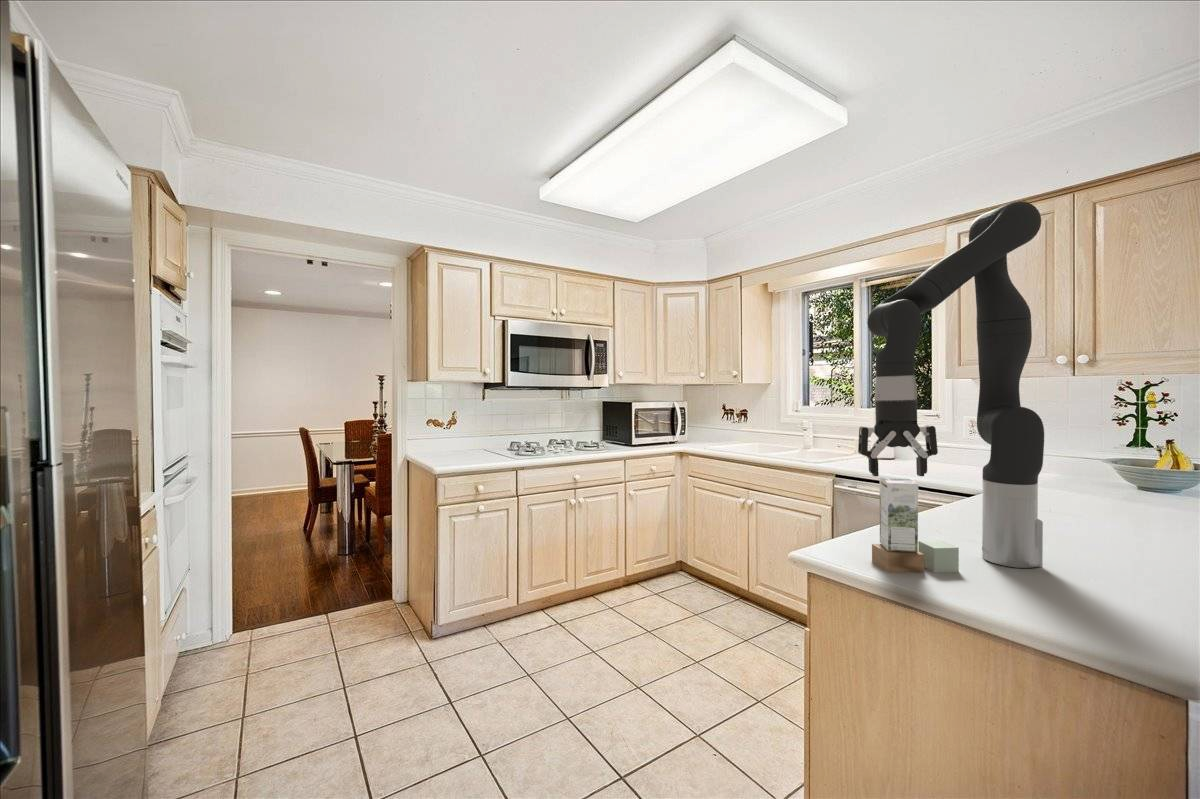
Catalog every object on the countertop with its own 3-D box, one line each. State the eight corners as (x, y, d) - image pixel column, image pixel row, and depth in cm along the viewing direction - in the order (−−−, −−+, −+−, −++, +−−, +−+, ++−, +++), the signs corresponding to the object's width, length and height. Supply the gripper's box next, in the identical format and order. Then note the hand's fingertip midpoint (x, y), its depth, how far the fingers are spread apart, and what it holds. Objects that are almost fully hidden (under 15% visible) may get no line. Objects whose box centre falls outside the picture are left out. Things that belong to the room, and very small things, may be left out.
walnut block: (905, 562, 111) (905, 543, 111) (924, 573, 104) (923, 554, 104) (872, 562, 111) (871, 543, 111) (888, 574, 104) (888, 554, 104)
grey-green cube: (941, 563, 109) (941, 540, 109) (958, 572, 104) (958, 547, 104) (918, 564, 109) (918, 540, 109) (934, 572, 104) (934, 548, 104)
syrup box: (908, 544, 110) (908, 477, 110) (918, 553, 104) (918, 482, 104) (879, 543, 111) (878, 476, 111) (887, 552, 106) (887, 482, 105)
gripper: (926, 396, 109) (928, 473, 109) (853, 398, 112) (855, 472, 112) (941, 397, 101) (943, 479, 101) (863, 399, 104) (865, 478, 105)
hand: (897, 475), depth 107 cm, fingers open, 8 cm apart
